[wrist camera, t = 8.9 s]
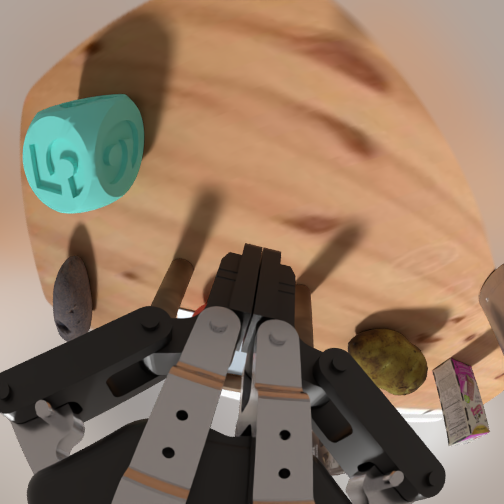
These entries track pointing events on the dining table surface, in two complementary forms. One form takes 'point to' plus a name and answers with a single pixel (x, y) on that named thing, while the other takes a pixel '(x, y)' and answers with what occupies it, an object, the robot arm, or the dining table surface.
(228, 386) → the stopper rail
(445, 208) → the dining table surface
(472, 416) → the candy bar box
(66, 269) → the perforated stone tool
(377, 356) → the potato
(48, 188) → the decorative dice
